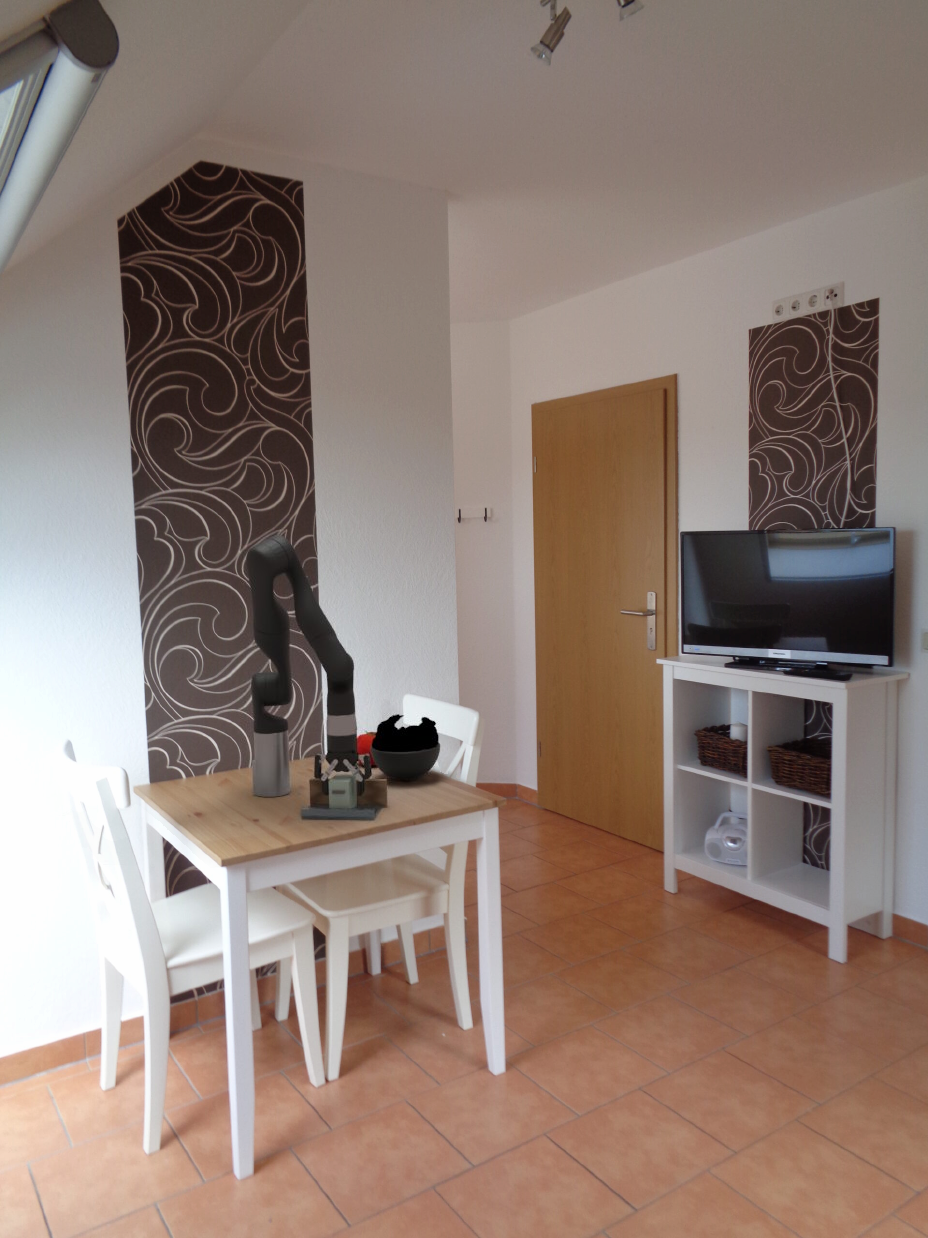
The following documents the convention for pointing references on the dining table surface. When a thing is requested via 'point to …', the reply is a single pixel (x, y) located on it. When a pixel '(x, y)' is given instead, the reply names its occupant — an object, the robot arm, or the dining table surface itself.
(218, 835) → the dining table surface
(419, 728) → the coal bowl
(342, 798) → the cabinet
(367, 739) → the tomato
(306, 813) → the dark grey flat slab
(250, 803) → the dining table surface
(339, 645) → the robot arm
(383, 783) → the wall board
